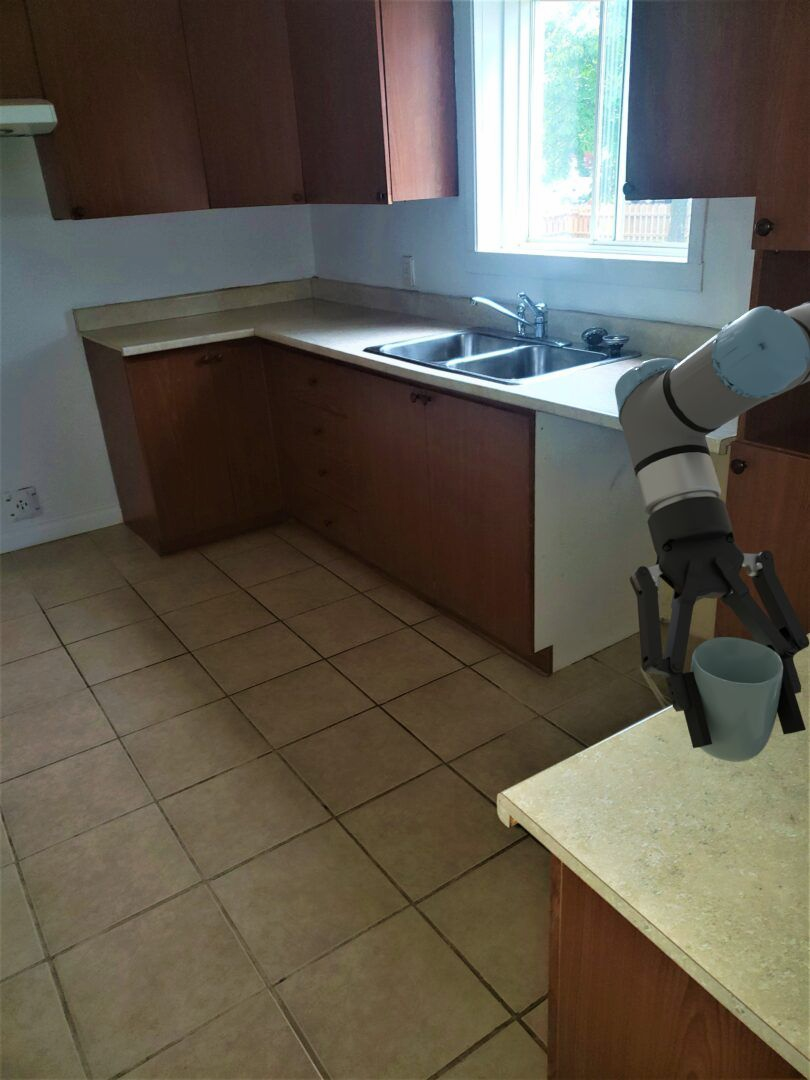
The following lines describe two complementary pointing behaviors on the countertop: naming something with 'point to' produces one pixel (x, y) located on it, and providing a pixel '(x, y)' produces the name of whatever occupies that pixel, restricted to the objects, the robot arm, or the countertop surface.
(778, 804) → the countertop surface
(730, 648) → the cup
